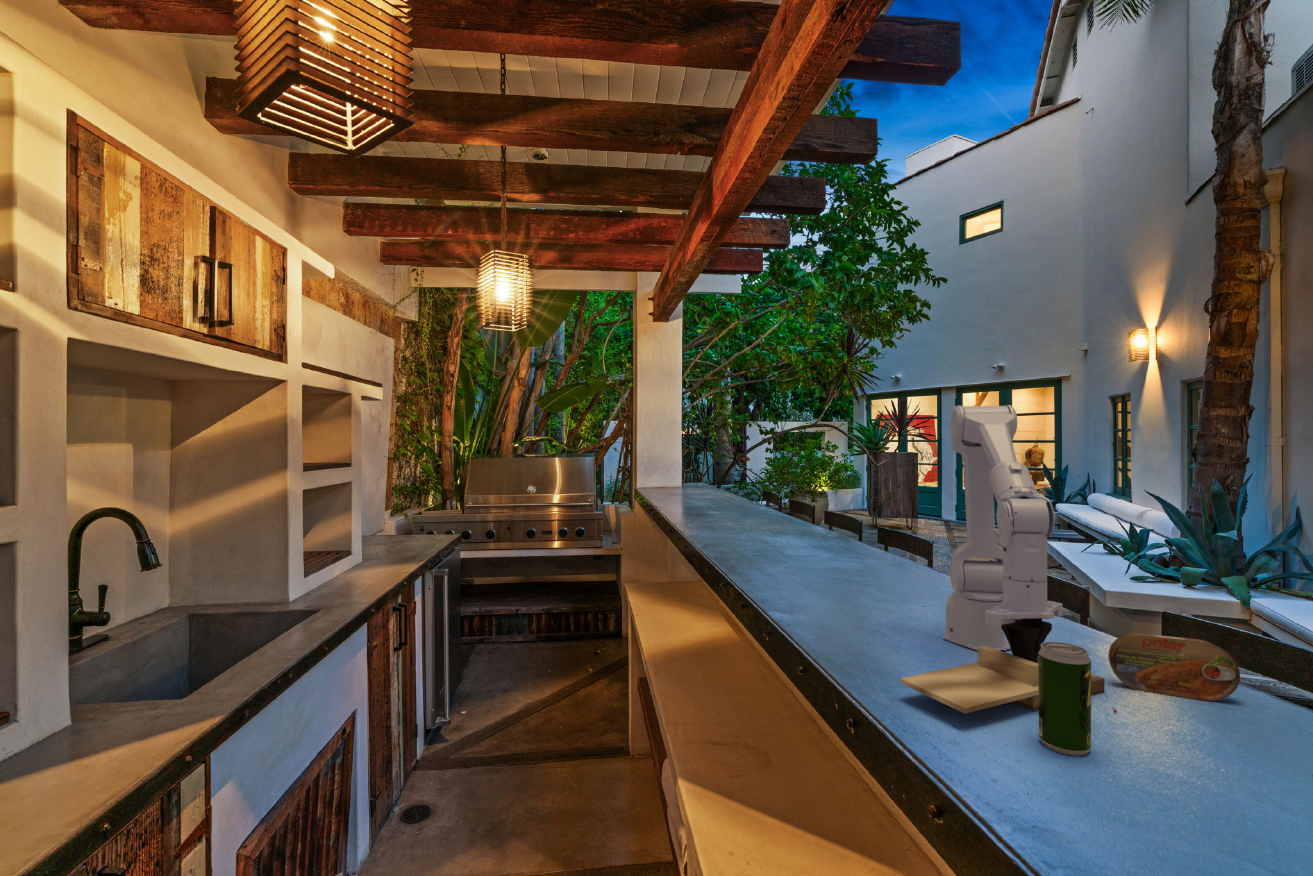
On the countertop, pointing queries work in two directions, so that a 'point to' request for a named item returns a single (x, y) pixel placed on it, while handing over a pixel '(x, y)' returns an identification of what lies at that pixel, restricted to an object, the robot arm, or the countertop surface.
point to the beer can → (1064, 698)
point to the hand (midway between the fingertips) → (1024, 668)
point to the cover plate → (980, 681)
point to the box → (1033, 701)
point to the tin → (1174, 666)
